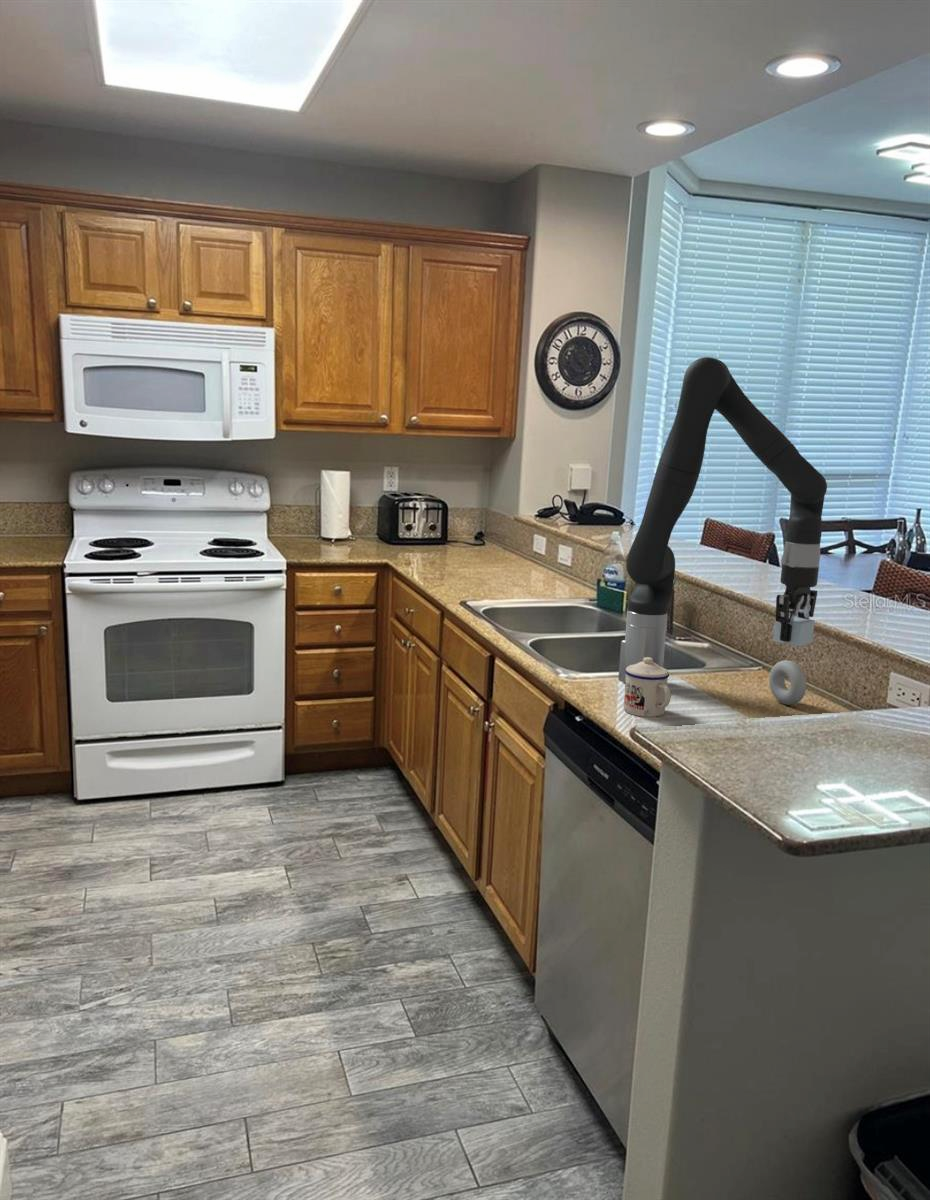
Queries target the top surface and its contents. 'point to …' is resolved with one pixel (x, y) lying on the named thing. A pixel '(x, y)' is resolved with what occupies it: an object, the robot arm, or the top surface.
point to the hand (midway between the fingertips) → (792, 638)
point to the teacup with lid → (646, 689)
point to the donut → (796, 682)
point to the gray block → (797, 632)
